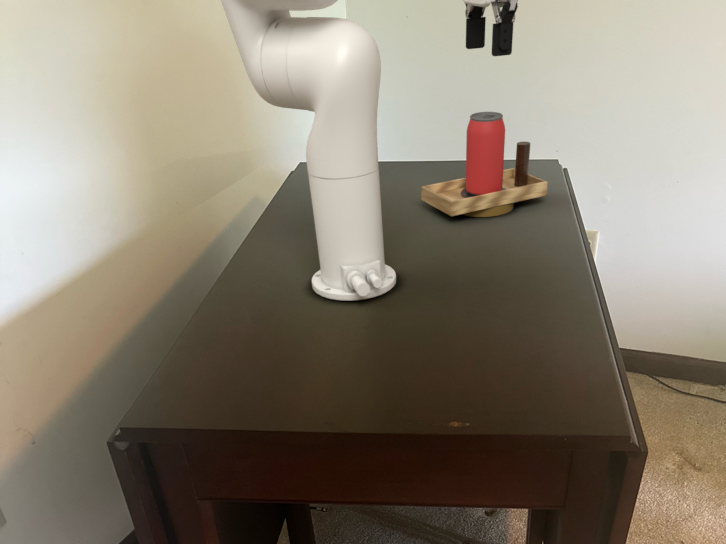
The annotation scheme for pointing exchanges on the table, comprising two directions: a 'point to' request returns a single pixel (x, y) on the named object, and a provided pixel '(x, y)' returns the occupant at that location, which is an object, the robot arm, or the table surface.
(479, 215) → the turntable base
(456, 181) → the tray
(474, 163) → the beer can
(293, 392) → the table surface
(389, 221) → the table surface
